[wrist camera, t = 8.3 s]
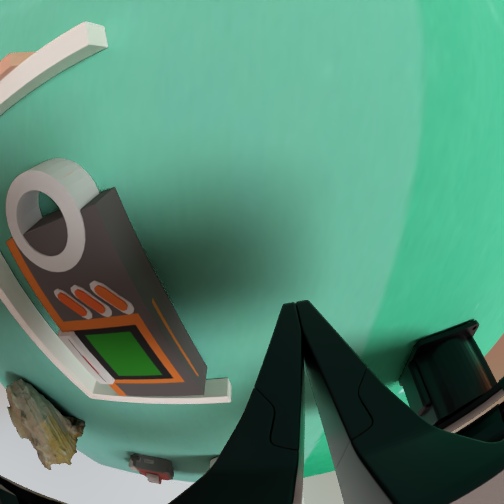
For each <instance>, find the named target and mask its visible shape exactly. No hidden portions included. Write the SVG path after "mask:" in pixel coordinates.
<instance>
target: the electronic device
mask: <svg viewBox="0 0 504 504" xmlns="http://www.w3.org/2000/svg"><path fill="white" fill-rule="evenodd" d="M40 191H41V192H43V193H45V194H47V195H48V196H49V197H51V198H52V199H53V201H54V202H55V203H56V204H57V205H58V207H59V208H60V210H57V211H55V212H53V213H51V214H49V215H46V216H44V217H42V215H41V212H40V208H39V192H40ZM6 217H7V222H8V226H9V230H10V232H11V234H12V237H11V238H10V239H9V240H8V241H7V242H6V243H7V245H8V247H9V249H10V251H11V253H12V255H13V257H14V259H15V261H16V262H17V264H18V266H19V268H20V269H21V271H22V273H23V275H24V276H25V278H26V280H27V281H28V283H29V284H30V286H31V288H32V289H33V291H34V292H35V294H36V295H37V297H38V298H39V300H40V301H41V303H42V304H43V306H44V307H45V309H46V310H47V312H48V313H49V314H50V316H51V317H52V319H53V320H54V321H55V323H56V324H57V325H58V327H59V328H60V330H59V332H58V337H59V338H60V339H61V340H62V342H63V343H64V344H65V345H66V347H67V348H68V349H69V350H70V351H71V353H72V354H73V355H74V356H75V357H76V358H77V359H78V361H79V362H80V363H81V364H82V365H83V366H84V367H85V368H86V369H87V371H88V372H89V373H90V374H91V375H92V376H93V377H94V378H95V379H96V380H97V381H98V382H99V383H100V384H108V385H109V386H110V387H111V388H112V389H113V390H114V391H115V392H116V393H117V394H118V395H119V396H195V395H204V393H205V383H206V373H207V366H206V364H205V362H204V361H203V359H202V357H201V356H200V354H199V352H198V350H197V349H196V347H195V345H194V344H193V342H192V340H191V338H190V336H189V335H188V333H187V331H186V329H185V328H184V326H183V324H182V322H181V320H180V318H179V316H178V315H177V313H176V311H175V309H174V307H173V305H172V303H171V302H170V300H169V298H168V296H167V294H166V292H165V291H164V289H163V287H162V285H161V283H160V281H159V279H158V278H157V276H156V274H155V272H154V270H153V268H152V266H151V264H150V262H149V260H148V258H147V256H146V254H145V252H144V250H143V248H142V246H141V244H140V242H139V240H138V238H137V236H136V233H135V231H134V229H133V227H132V225H131V223H130V221H129V218H128V216H127V214H126V212H125V209H124V207H123V205H122V203H121V200H120V198H119V196H118V193H117V191H116V188H115V187H114V188H111V189H109V190H106V191H103V192H101V193H99V190H98V188H97V186H96V184H95V182H94V181H93V179H92V178H91V177H90V175H89V174H88V173H87V172H86V171H85V170H84V169H83V168H82V167H81V166H80V165H78V164H76V163H75V162H73V161H70V160H68V159H63V158H54V159H49V160H47V161H45V162H43V163H41V164H39V165H37V166H35V167H33V168H31V169H29V170H27V171H25V172H23V173H22V174H20V175H19V176H18V177H16V178H15V179H14V181H13V182H12V184H11V185H10V188H9V190H8V193H7V198H6ZM61 217H63V218H61ZM59 218H60V219H59ZM57 219H58V220H57ZM54 220H55V221H54ZM52 221H53V222H52ZM50 222H51V223H50ZM47 223H48V224H47Z"/></svg>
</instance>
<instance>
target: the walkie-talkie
mask: <svg viewBox="0 0 504 504" xmlns="http://www.w3.org/2000/svg"><path fill="white" fill-rule="evenodd" d="M129 467H130V468H131V470H135V471H138V472H139V473H140V474H143V475H145V476H146V477H148V481H149V482H153V483H158V484H161V480H162V479H163V480H171V479H173V477H174V472H173V467H172V464H171V461H170V460H167V459H161V458H155V457H150V456H145V455H141V454H134V455H131V458H130V460H129Z"/></svg>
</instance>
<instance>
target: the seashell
mask: <svg viewBox="0 0 504 504" xmlns="http://www.w3.org/2000/svg"><path fill="white" fill-rule="evenodd" d="M6 387H7V388H6V392H7V398H8V401H9V404H10V407H8V410H9V414H10V417H11V420H12V422H13V425H14V426H15V427H16V429H17V432H18V434H19V435H20V437H21V438H27V439H29V440H30V441H31V443H32V445H33V447H34V448H35V449H36V450H37V452H38V457H39V459H40V461H41V462H42V464H43V465H44V467H46V468H47V469H49V470H51V467H50V465H51V464H61V463H67V464H68V465H70V464H71V462H70V460H71V458H72V456H73V455H74V454H75V453H76V452H77V451H76V443H77V437H79V436H82V434H83V429H84V427H85V422H84V421H82V420H79V419H76V418H73V417H64V416H63V415H61V413H60V412H59V411H58V410H57V409H56V408H54V406H53V405H52V404H51V403H50V402H49V401H48V400H46V399H45V397H44V396H43V395H41V394H39V393H38V391H36V390H35V389H34V388H33V386H32V385H30V384H29V383H25V382H24V381H23V380H22V379H20V380H17V381H14V382H13V383H12V384H10V385H7V386H6Z"/></svg>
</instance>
